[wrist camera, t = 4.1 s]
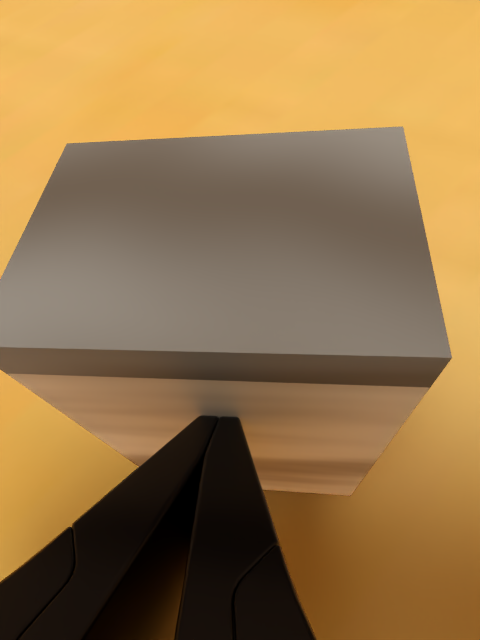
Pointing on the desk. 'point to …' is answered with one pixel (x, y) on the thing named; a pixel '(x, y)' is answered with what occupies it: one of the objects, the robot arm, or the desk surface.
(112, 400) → the cream block
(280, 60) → the desk surface
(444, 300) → the desk surface
